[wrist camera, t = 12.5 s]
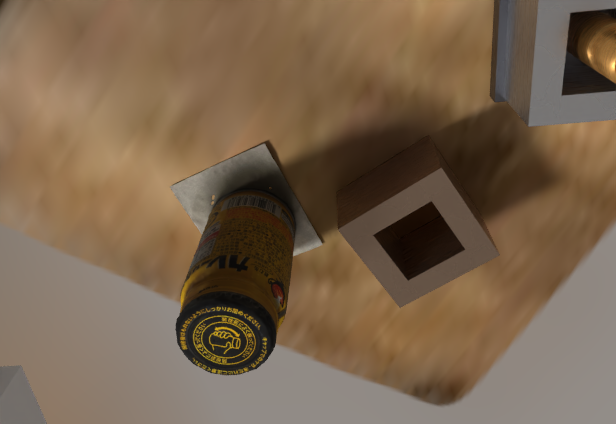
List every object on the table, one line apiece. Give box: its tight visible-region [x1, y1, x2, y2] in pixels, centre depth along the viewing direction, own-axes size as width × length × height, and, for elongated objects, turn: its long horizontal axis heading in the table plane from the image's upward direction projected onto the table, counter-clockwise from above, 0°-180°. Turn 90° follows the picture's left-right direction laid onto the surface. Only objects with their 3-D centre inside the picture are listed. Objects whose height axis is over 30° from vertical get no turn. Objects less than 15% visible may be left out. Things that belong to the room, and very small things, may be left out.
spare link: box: [337, 135, 500, 308], centre depth 37 cm, size 7×7×5 cm
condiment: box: [170, 143, 323, 375], centre depth 35 cm, size 7×8×12 cm
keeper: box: [490, 0, 616, 102], centre depth 29 cm, size 8×8×10 cm
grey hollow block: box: [503, 0, 616, 127], centre depth 30 cm, size 7×7×5 cm
